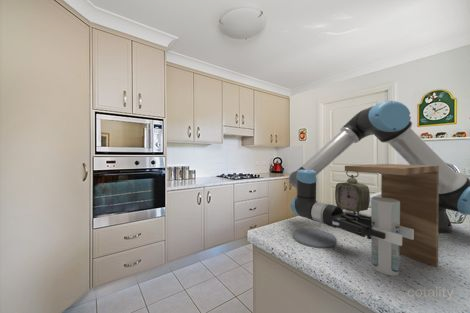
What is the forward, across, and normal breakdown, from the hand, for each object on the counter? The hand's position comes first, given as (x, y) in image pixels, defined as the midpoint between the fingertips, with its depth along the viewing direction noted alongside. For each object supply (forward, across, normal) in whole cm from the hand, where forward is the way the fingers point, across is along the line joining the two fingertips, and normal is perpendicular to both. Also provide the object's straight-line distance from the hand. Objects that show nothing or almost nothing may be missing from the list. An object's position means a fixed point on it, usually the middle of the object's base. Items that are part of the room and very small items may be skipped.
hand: (407, 237), depth 51 cm
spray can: (-5, 0, -11) cm, 12 cm away
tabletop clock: (-38, -42, -11) cm, 58 cm away
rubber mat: (-29, 0, -11) cm, 31 cm away
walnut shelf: (-5, -4, -11) cm, 13 cm away
